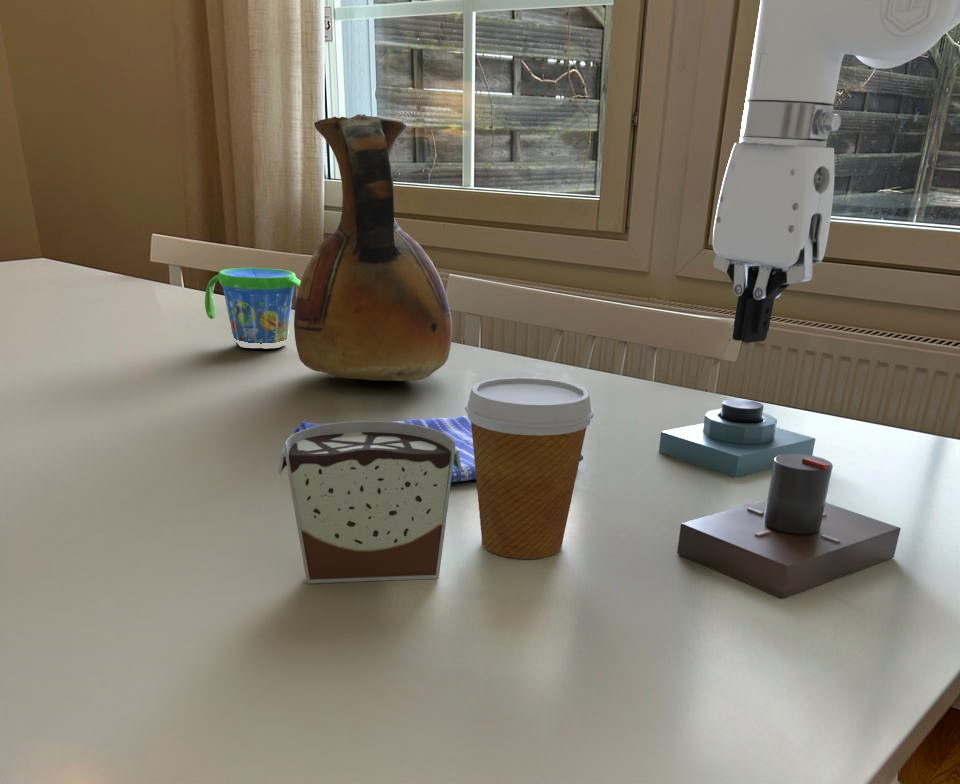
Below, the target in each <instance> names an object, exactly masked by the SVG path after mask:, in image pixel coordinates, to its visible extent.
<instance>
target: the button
mask: <svg viewBox="0 0 960 784" xmlns="http://www.w3.org/2000/svg"><path fill="white" fill-rule="evenodd" d="M721 409H722V410H721V417H720V418H721V419H723V420H726V421H730V422H737V423H760V422H761V419H762V413H764V412H763V411H764V405H763V403H761V402H758V401H755V400H750V399H744V398H742V399H741V398H732V399H731V398H730V399H726V400H723V402H722V404H721Z"/></svg>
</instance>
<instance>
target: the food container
mask: <svg viewBox="0 0 960 784" xmlns="http://www.w3.org/2000/svg"><path fill="white" fill-rule="evenodd" d="M324 424H325V425H319V426H315V427H311V428H307V429H304V430H301V431H299V432H297V433H293V434H292V435H290V436H288V438H287V439H286V440H285V441H284V442H285V443H284V448H283V449H282V450H281V454H280V461H279V468H278V475H280V476H281V475H282V472H283V470H284V469H285V468H286V469H287V473H288V480H289V485H290V491H291V497H292V498H291V499H292V504H293V509H294V515H295V521H296V526H297V528H296V529H297V533H298V534H297V535H298V540H299V546H300V551H301V557H302V562H303V568H304V574H305V575H304V576H305V580H306V584H329V583H353V582H358V583H359V582H381V581H382V582H383V581H404V580H407V581H408V580H428V579H429V580H430V579H439V578H440V572H441V563H442V557H443V548H444V541H445V532H446V525H447V516H448V508H449V503H450V502H449V501H450V493H451V485H452V482H451V478H452V470H453V465H454V466H456V467H457V468H458V470H459V471H462V467H461V462H460V456H459V451H458V450H457V448H456V447H455V441H454V440H453V439H452V438H451V437H450V436H448V435H447V434H445V433H443V432H441V431H438V430H435V429H432V428H428V427H424V426H419V425H414V424H407V423H399V422H392V421H385V420H352V421H339V422H332V423H324Z"/></svg>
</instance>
